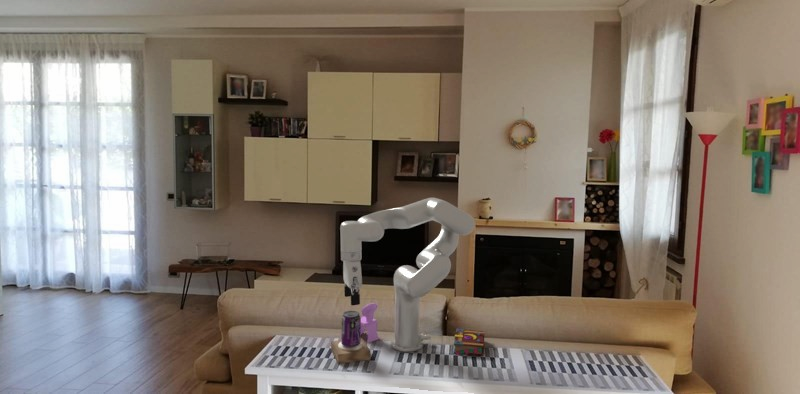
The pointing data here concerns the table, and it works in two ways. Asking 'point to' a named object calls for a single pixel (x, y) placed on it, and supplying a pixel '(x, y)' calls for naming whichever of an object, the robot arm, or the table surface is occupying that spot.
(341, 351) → the base
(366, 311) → the toy chair
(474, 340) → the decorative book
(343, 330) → the beverage can
